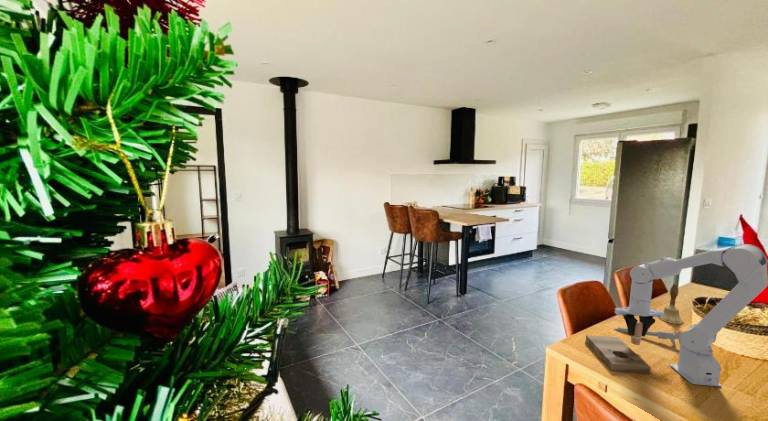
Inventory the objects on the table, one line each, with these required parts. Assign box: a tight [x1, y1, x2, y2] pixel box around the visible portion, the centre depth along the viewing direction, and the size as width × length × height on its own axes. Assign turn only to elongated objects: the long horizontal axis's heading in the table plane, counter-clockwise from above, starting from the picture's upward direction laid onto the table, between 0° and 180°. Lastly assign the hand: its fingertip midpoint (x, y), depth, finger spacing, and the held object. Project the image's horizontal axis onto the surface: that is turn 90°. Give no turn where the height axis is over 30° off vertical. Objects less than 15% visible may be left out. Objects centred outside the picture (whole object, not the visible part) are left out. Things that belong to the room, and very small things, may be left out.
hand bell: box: [657, 283, 684, 325], centre depth 136 cm, size 8×8×16 cm
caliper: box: [613, 326, 681, 347], centre depth 122 cm, size 20×1×6 cm, turn 49°
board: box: [585, 334, 651, 375], centre depth 110 cm, size 18×11×2 cm, turn 171°
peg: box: [630, 320, 643, 346], centre depth 113 cm, size 3×3×8 cm
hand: (636, 334), depth 113 cm, fingers closed on peg, 3 cm apart
